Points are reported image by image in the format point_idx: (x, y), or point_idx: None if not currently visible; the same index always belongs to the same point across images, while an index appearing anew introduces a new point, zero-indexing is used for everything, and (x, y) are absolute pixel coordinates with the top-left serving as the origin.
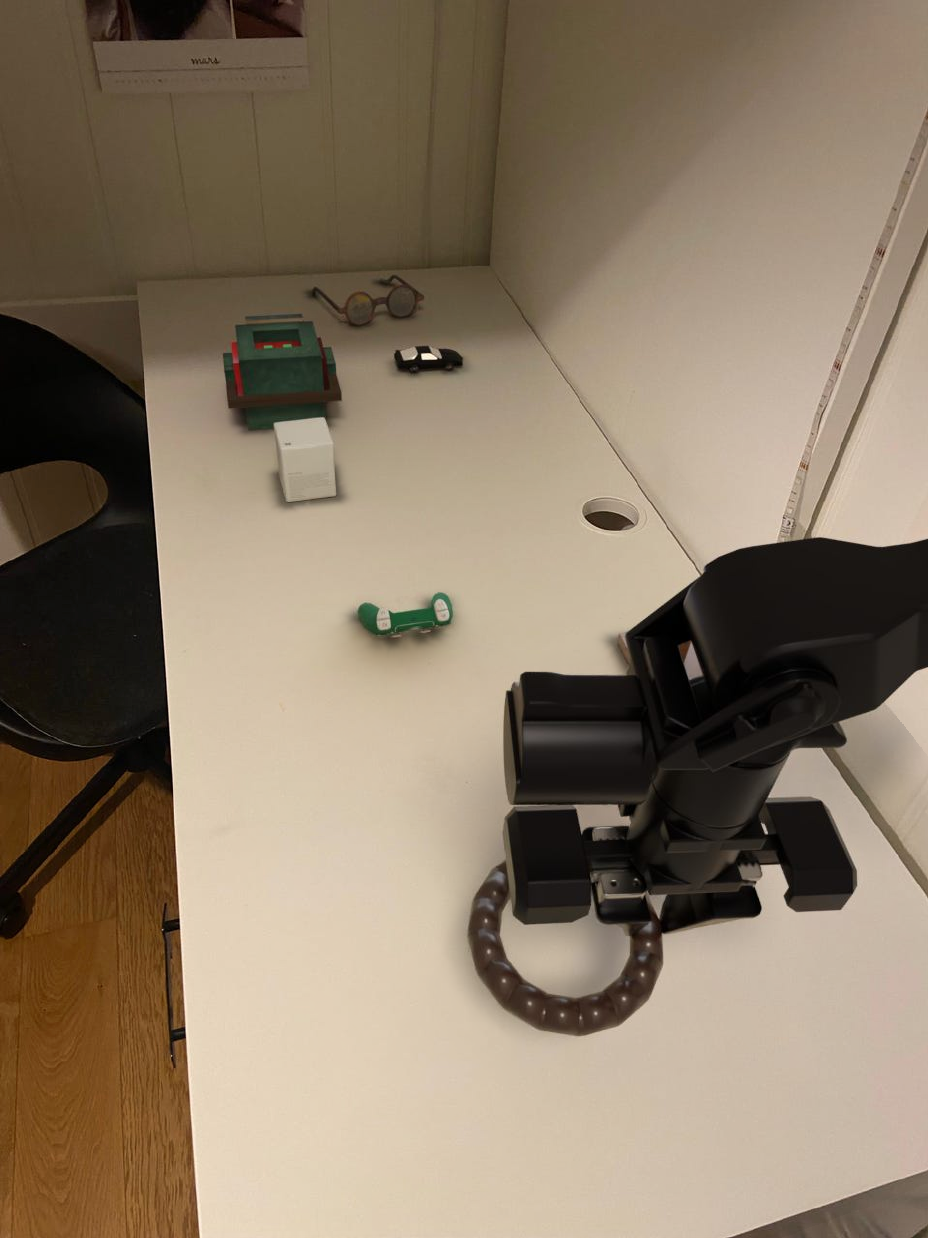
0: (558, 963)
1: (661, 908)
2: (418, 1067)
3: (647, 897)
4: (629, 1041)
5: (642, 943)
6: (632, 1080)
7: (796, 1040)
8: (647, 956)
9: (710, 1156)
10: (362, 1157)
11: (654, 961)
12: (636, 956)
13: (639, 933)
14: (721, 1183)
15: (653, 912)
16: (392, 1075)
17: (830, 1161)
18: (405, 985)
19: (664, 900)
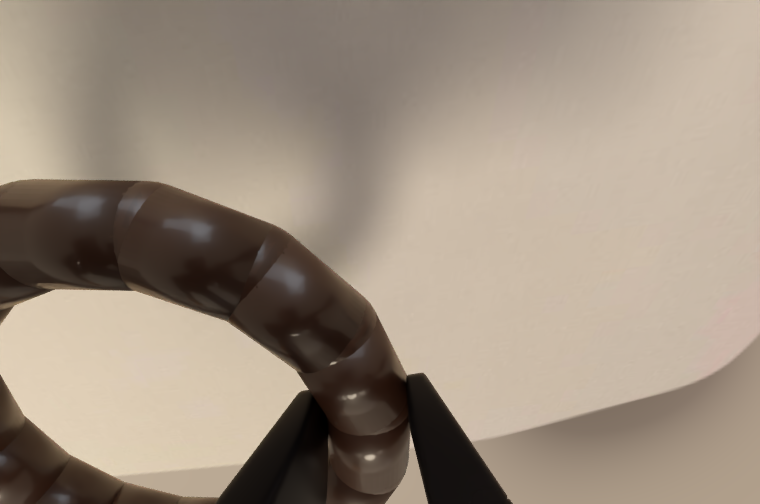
0: (267, 212)
1: (407, 406)
2: (116, 363)
3: (366, 365)
4: (385, 304)
5: (349, 473)
6: None
7: (636, 271)
8: (361, 500)
9: (474, 397)
10: (101, 436)
11: (379, 501)
12: (336, 490)
13: (342, 452)
14: (481, 414)
15: (384, 400)
16: (90, 374)
17: (614, 386)
18: None
19: (412, 433)
